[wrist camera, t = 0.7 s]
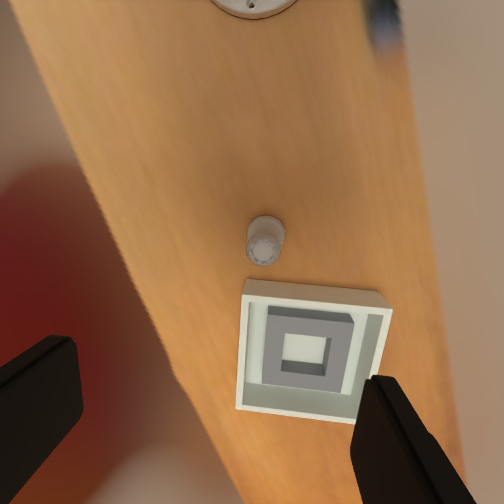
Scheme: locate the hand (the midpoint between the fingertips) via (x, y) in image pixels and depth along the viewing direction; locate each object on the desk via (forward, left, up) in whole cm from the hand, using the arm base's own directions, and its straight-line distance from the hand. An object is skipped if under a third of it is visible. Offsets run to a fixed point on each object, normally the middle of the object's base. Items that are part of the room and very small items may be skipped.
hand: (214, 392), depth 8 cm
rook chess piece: (0, +1, -24) cm, 24 cm away
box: (+14, +7, -24) cm, 28 cm away
